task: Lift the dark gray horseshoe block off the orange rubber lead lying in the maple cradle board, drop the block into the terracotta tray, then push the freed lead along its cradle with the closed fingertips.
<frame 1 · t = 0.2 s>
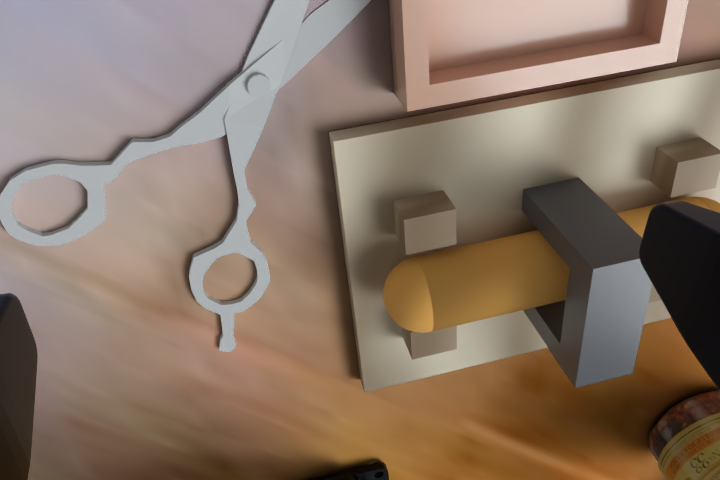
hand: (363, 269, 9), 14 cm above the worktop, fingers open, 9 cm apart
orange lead: (545, 241, 28), point 1 cm above the worktop, touching cradle board
sauce bottle: (684, 420, 40), on the worktop
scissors: (249, 95, 23), on the worktop
dark gray horseshoe block: (545, 241, 28), point 1 cm above the worktop, touching cradle board
cradle board: (537, 231, 29), on the worktop
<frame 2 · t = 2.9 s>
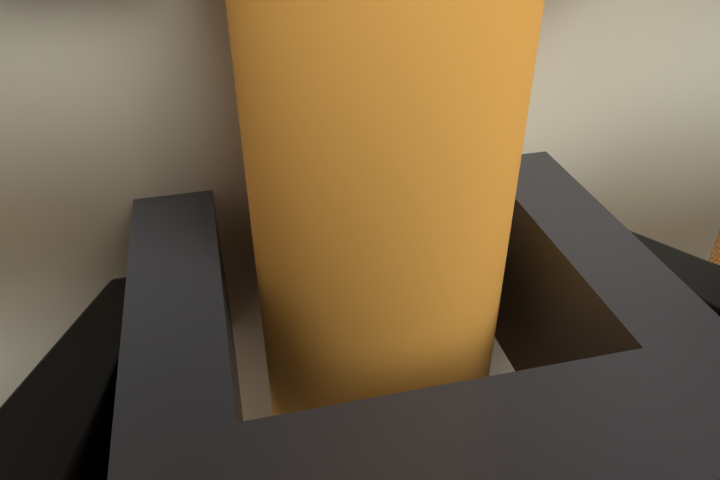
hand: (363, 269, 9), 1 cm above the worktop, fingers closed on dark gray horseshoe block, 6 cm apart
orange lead: (352, 245, 10), point 1 cm above the worktop, touching cradle board
dark gray horseshoe block: (353, 245, 10), point 1 cm above the worktop, touching cradle board, gripper
cradle board: (341, 217, 10), on the worktop
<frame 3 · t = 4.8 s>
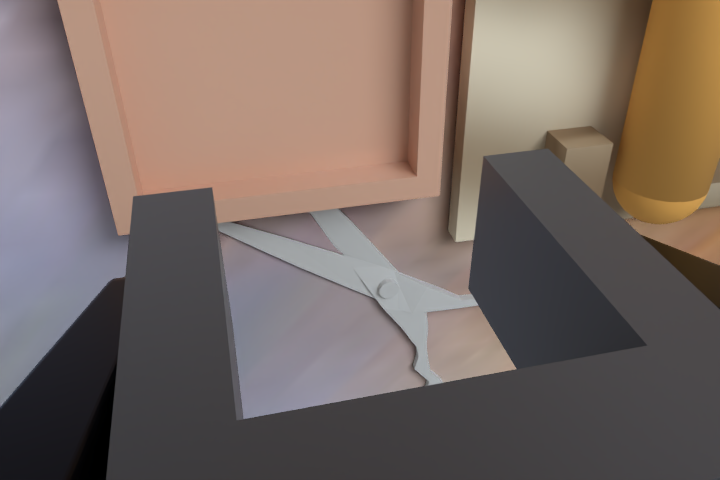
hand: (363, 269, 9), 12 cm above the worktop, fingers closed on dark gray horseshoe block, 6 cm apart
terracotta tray: (266, 38, 19), on the worktop
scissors: (399, 279, 26), on the worktop
dark gray horseshoe block: (353, 243, 10), point 11 cm above the worktop, touching gripper
when the fingers open (2 cm above the worktop, at t = 7.0 s): dark gray horseshoe block stays where it is, resting on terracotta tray.
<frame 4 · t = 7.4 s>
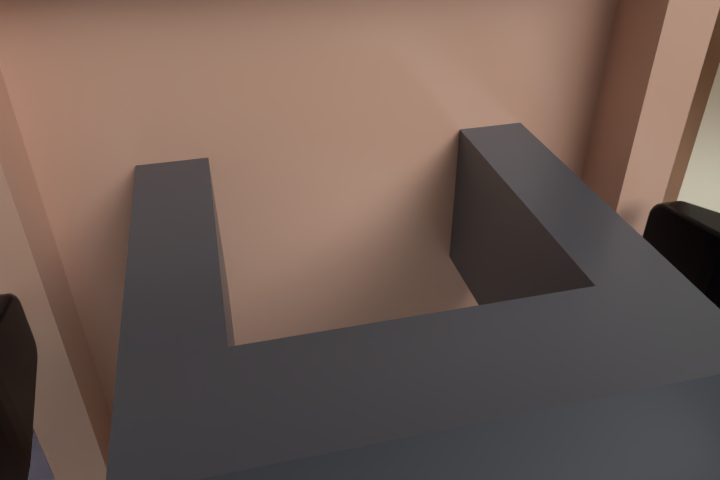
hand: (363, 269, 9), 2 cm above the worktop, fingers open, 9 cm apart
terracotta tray: (332, 200, 11), on the worktop
dark gray horseshoe block: (340, 211, 10), resting on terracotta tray
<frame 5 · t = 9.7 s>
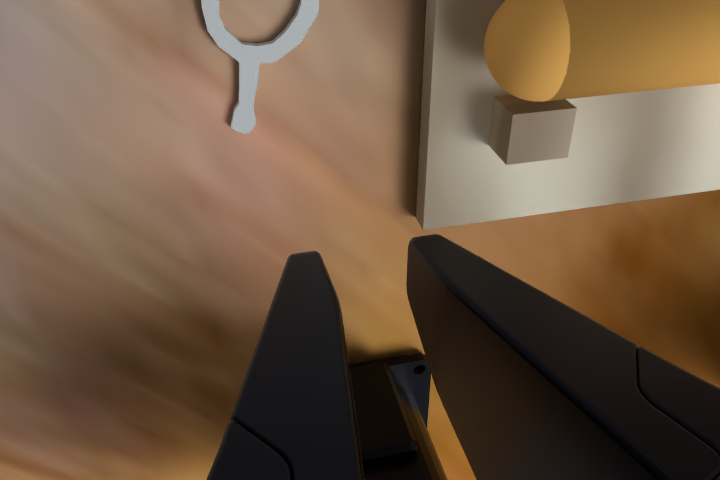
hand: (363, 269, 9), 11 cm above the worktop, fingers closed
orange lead: (701, 13, 20), point 1 cm above the worktop, touching cradle board
cradle board: (684, 7, 21), on the worktop
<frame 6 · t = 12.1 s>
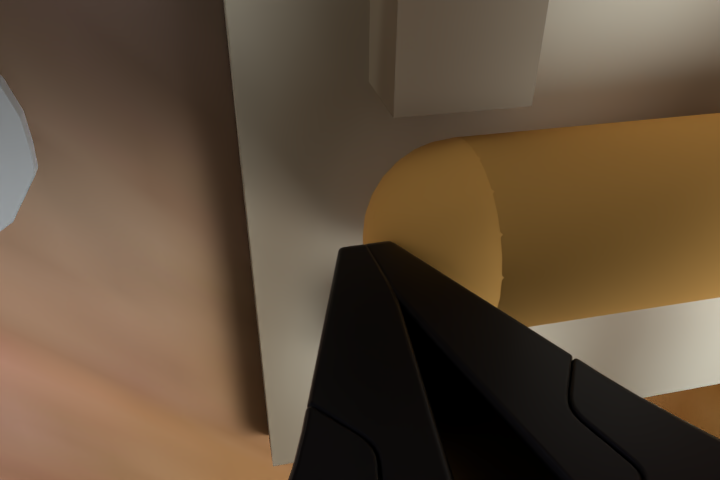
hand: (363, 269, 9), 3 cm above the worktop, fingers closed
cradle board: (679, 141, 13), on the worktop
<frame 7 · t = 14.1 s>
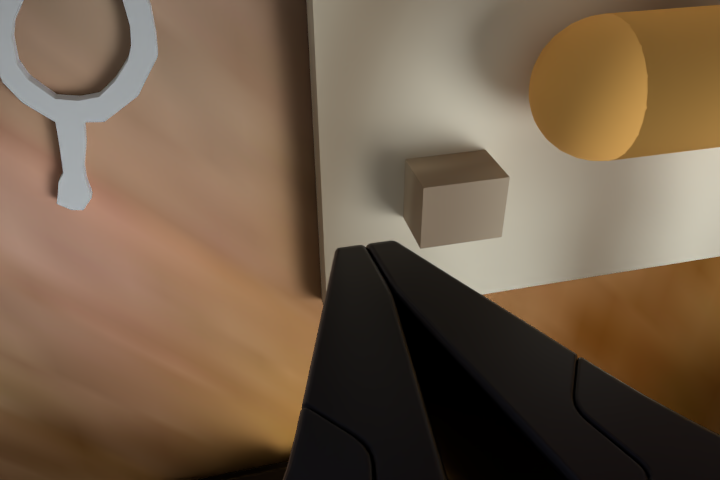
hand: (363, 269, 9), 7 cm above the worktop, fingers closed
cradle board: (654, 40, 16), on the worktop
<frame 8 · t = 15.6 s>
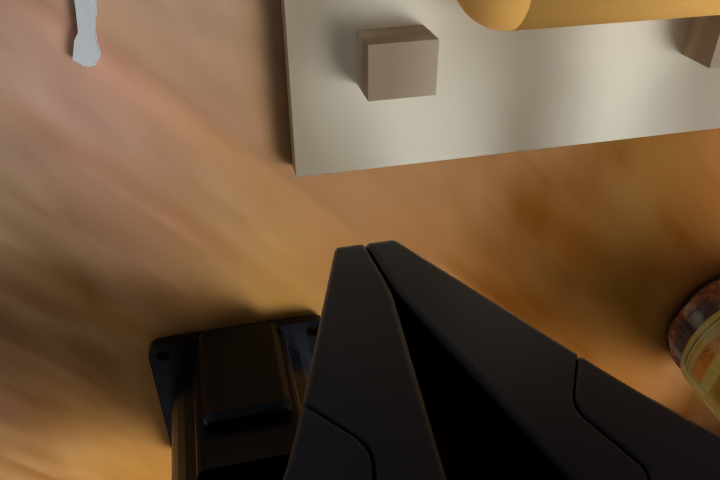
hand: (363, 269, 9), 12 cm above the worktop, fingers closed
sauce bottle: (712, 314, 31), on the worktop
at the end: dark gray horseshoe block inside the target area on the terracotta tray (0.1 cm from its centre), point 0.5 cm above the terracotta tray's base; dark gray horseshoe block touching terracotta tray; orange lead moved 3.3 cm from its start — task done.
